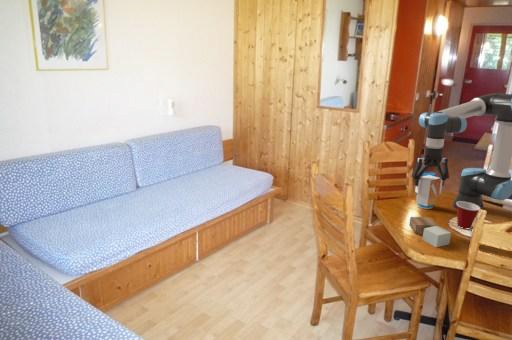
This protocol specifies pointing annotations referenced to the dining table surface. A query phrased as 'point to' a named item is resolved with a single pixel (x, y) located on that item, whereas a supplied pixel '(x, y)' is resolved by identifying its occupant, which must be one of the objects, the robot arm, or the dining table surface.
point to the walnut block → (421, 224)
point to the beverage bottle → (430, 205)
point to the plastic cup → (466, 213)
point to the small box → (428, 190)
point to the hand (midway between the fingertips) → (427, 192)
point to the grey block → (436, 236)
